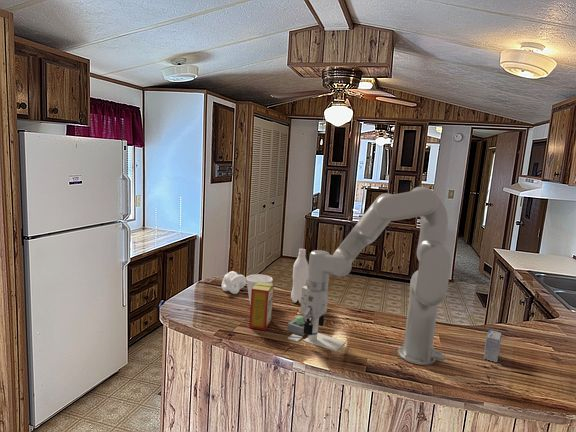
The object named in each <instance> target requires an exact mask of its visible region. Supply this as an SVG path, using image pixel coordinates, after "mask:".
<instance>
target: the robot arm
mask: <svg viewBox="0 0 576 432" xmlns="http://www.w3.org/2000/svg"><path fill="white" fill-rule="evenodd" d="M419 217H420V230H419V236H418V242H417V243H418V244H417V248H416V258H417V260H418V262H419V263H418V269H417V270H416V271H414V272H413V273H412V276H411V279H410V283H409V299H408V305H407V306H408V308H407V314H406V321H405V322H406V323H405V332H404V337H403V338H404V339H403V345H401V346H400V347H399V348H397V349H398V350H397V352H398V356H399V357H400V359H402V360H404V361H406V362H409V363H410V364H414V365H419V366H429V365H432V364H434V363H435V362H436V359H437V360H439V361H443V362H445V359H446V355H445V354H443V351H440V350H436V349H435V345H434V338H435V337H434V335H435V329H436V321H437V316H438V307H439V305H440V304H441V303H443V301H444V299H445V298H446V296H447V291H448V286H449V280H450V275H451V268H452V267H451V266H452V257H451V254H450V251H449V249H448V248H447V246H446V244H447V235H448V226H449V225H448V223H449V221H448V220H449V218H448V217H449V216H448V211H447V208H446V206H445V204H444V202H443V200H442V199H441V198H440V197H439V195H438V194H437V193H436V191H434V190H432V189H431V188H429V187H426V186H416V187H414V188H412V190H410V191H406V192H400V193H393V194H392V193H389V192H385V193H381V194H380V195H378V197H376V198H375V200H374V201H373V202H372V204H371V205H369V207H368V209H367V210H366V211H365V212H364V214H363V215H362V216H361V218H360V219H359V220H358V221H357V223H356V224H355V225H354V227H352V229H351V230H350V232H349V233H348V235H346V237H345V238H344V239H343V241H342V242H341V243H340V245H339V246H337V248H336V249H335V251H334V252H333V254H330V252H328V251H326V250H320V249H317V250H316V249H314V250H312V251H311V252H310V253H309V259H308V260H309V261H308V265H309V269H308V279H307V283H306V286H307V289H308V292H307V297H306V304H305V313H304V314H302V316H303V318H304V334H305V335H307V336H309V335H312V330H313V324H312V322H313V320H314V318H315V319H318V318H319V323H318V326H320V327H323V326H324V322H325V315H326V313H327V312H328V311H327V310H328V300H329V299H328V289H329V281H330V280H329V279H330V275H333V276H336V277H346V276H347V275H348V274H350V273H351V270H352V265H353V264H352V263H353V262H354V261H355V260H356V258H357V256H359V255H360V253H361V252H362V251H363V250H364V249H365V247H367V246H368V245H371V244H372V243H373V242H375V241H376V240H377V239H378V237H379V236H381V234H382V232H383V231H384V230H385V229H386V228H387V226H388V225H389V224H390V222H393V221H402V220H407V219H413V218H419ZM310 314H311V315H312V316H311V315H310ZM310 318H311V320H310Z"/></svg>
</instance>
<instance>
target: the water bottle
mask: <svg viewBox="0 0 576 432" xmlns="http://www.w3.org/2000/svg"><path fill="white" fill-rule="evenodd" d="M306 252H307V251H306V249H305V248H298V253H297V254H298V255H297V258H296V260H295V261H294V263H293V266H292V267H293V269H292V290H291V293H290V298H291V300H292V302H293V303H297V302H298V303H299V304H301V296H302V287H304V286H307V281H308V269H309V261H308V260H307V257H306V255H307V254H306Z"/></svg>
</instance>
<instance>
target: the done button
mask: <svg viewBox="0 0 576 432" xmlns="http://www.w3.org/2000/svg"><path fill="white" fill-rule="evenodd" d="M295 318H296V322H295V324H296V325H299V326H303V325H304V318H303V315H300V314H299V315H296V316H295Z"/></svg>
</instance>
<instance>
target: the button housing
mask: <svg viewBox="0 0 576 432" xmlns="http://www.w3.org/2000/svg"><path fill="white" fill-rule="evenodd" d="M295 322H296V317H295V318H294V319H292V320H291V321H289V322H288V323H287V325H286V332H289V333H292V334H295V335H298V336H301V337H303V336H306V334H304V325H303V326H299V325H296V324H295Z"/></svg>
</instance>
